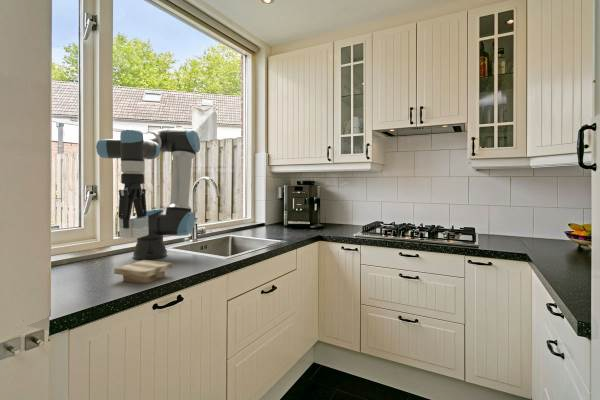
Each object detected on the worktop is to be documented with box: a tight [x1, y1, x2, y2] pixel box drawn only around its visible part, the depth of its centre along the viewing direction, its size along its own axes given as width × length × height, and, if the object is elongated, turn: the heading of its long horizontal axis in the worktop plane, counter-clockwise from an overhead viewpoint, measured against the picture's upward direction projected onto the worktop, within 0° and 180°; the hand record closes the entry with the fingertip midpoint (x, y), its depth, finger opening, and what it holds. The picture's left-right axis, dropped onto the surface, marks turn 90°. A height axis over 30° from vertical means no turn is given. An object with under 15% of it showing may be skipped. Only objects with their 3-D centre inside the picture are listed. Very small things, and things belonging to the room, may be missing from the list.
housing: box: [117, 215, 149, 239], centre depth 120 cm, size 9×7×7 cm
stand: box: [113, 259, 173, 285], centre depth 123 cm, size 14×14×5 cm
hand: (133, 235), depth 120 cm, fingers closed on housing, 7 cm apart
